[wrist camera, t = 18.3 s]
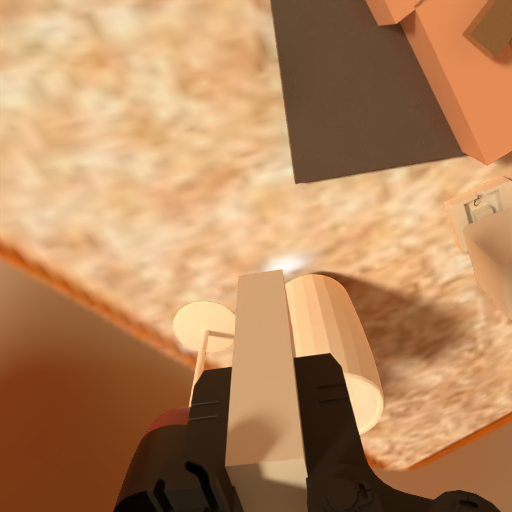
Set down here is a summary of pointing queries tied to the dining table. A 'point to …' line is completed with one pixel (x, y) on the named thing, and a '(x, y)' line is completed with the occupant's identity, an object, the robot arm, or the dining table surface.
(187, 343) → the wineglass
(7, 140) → the dining table surface
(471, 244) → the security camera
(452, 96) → the link
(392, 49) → the base
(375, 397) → the cup
